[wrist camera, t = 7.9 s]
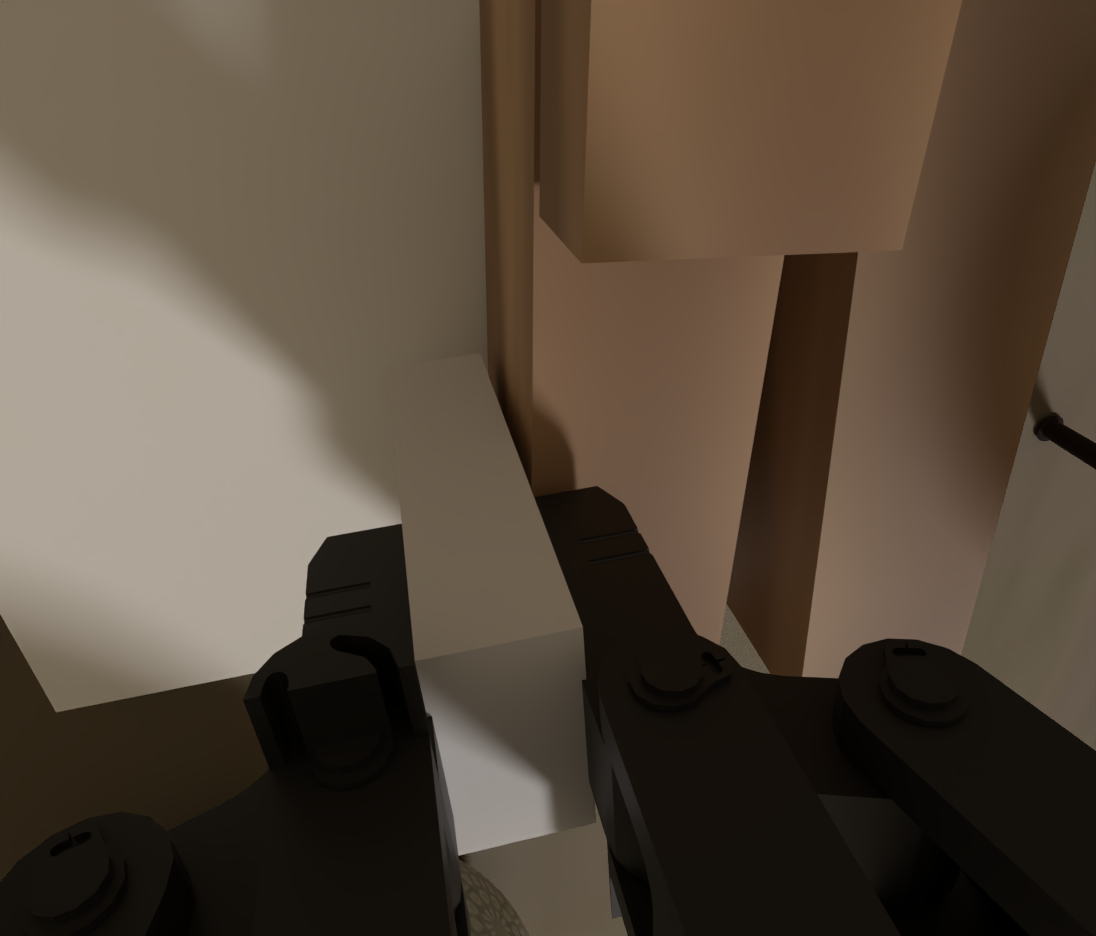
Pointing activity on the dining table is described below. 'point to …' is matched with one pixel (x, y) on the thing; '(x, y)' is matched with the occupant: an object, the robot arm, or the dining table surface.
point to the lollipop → (1068, 440)
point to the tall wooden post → (919, 360)
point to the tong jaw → (680, 230)
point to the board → (216, 311)
